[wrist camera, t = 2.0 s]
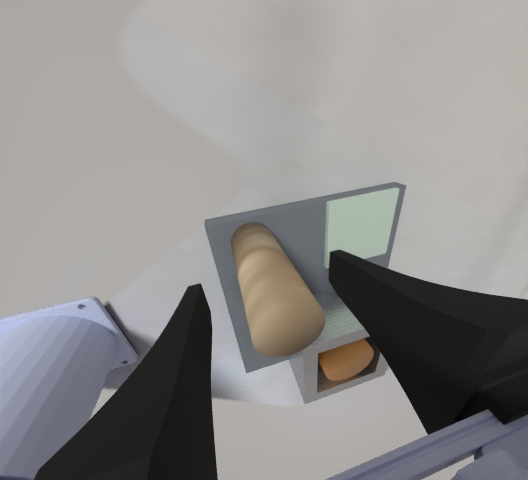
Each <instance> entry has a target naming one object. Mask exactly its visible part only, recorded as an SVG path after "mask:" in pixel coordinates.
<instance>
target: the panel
mask: <svg viewBox="0 0 528 480" xmlns="http://www.w3.org/2000/svg"><path fill="white" fill-rule="evenodd" d="M395 187H396V188H399V194H398V199H397V203H396V208H395V213H394V218H393V223H392V227H391V232H390V237H389V242H388V246H387V251H386V253H385V254H381V255H377V256H373V257H370V258H366V259H365V260H367V261H370V262H372V263H374V264H377V265H379V266H382V267H385V268H387V269H388V265H389V260H390V256H391V251H392V247H393V242H394V238H395V233H396V229H397V224H398V220H399V215H400V211H401V206H402V202H403V197H404V193H405V188H406V185H403V184H399V183H395V182H393V183H388V184H383V185H378V186H373V187H368V188H363V189H358V190H353V191H348V192H343V193H338V194H333V195H328V196H323V197H318V198H313V199H308V200H303V201H298V202H293V203H288V204H282V205H277V206H272V207H267V208H262V209H257V210H252V211H247V212H242V213H237V214H232V215H227V216H222V217H217V218H212V219H207V220H205V229H206V232H207V236H208V239H209V243H210V246H211V250H212V253H213V257H214V261H215V264H216V268H217V271H218V275H219V278H220V282H221V285H222V289H223V292H224V296H225V299H226V303H227V306H228V310H229V314H230V317H231V321H232V324H233V328H234V331H235V335H236V338H237V342H238V345H239V349H240V352H241V356H242V360H243V363H244V367H245V370H246V373H249V372H252V371H255V370H258V369H261V368H264V367H267V366H270V365H273V364H276V363H279V362H282V361H285V360H288V357H287V356H284V357H269V356H265V355H262V354H260V353H259V352H258V351H257V350H256V349H255V348H254V346H253V344H252V339H251V335H250V330H249V326H248V321H247V317H246V312H245V308H244V303H243V299H242V294H241V290H240V285H239V281H238V276H237V272H236V267H235V263H234V258H233V254H232V249H231V238H232V235H233V234H234V232H235V231H236V230H237V229H238V228H239V227H240V226H242V225H244V224H246V223H251V222H257V223H261V224H263V225H265V226H266V227H268V228H269V230H270V231H271V233H272V234H273V236H274V237H275V239H276V240H277V242H278V243H279V245H280V246H281V248H282V249H283V251H284V252H285V254H286V255H287V257H288V258H289V260H290V261H291V263H292V264H293V266H294V267H295V269H296V270H297V272H298V273H299V275H300V276H301V278H302V279H303V281H304V282H305V284H306V285H307V287H308V288H309V290H310V291H311V293H314V292H317V291H321V290H325V289H328V288H332V285H331V284H330V282H329V280H328V278H329V268H328V269H326V268H325V267H324V258H325V229H326V202H327V201H332V200H337V199H342V198H346V197H351V196H356V195H361V194H366V193H371V192H376V191H381V190H386V189H390V188H395Z"/></svg>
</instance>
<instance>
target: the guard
mask: <svg viewBox="0 0 528 480" xmlns="http://www.w3.org/2000/svg"><path fill="white" fill-rule="evenodd" d="M312 294H313V296H314V298H315V299H316V301H317V302H318V304H319V305H320V307H321V308H322V310H323V311H324V313H325V317H326V322H325V326H324V329H323V331H322V333H321V334H320V336H319V337H318V338H317V339H316V340H315V341H314V342H313V343H312V344H311V345H309V346H308V347H307V348H305V349H303V350H301V351H299V352H297V353H295V354H292V355H288V356H287V357H288V359H289V362H290V365H291V368H292V370H293V373H294V376H295V379H296V381H297V384H298V387H299V389H300V392H301V395H302V398H303V400H304V403H305V404H307V403H310V402H312V401H315V400H318V399H320V398H323V397H325V396H328V395H331V394H334V393H337V392H339V391H342V390H344V389H347V388H350V387H353V386H355V385H358V384H361V383H363V382H366V381H369V380H371V379H374V378H377V377H379V376H382V375H384V374H385V371H386V367H387V364H388V363H387V362H386V360H385V358H384V357H383V355H382V354H381V352H380V350H379V349H378V347H377V346H376V344H375V343H374V341H373V340H372V338H371V337H370V335H369V334H368V333H367V331H366V330H365V329H364V327H363V326H362V325H361V324H360V322H359V321H358V320H357V319H356V317H355V316H354V315H353V314H352V312H351V311H350V310H349V309H348V308H347V306H346V305H345V304H344V303H343V301H342V300H341V299H340V297H339V296H338V295H337V293H336V292H335V290H334V289H333V287H332V288H328V289H325V290H321V291H317V292H314V293H312ZM363 338H365V340H366V341H367V342H368V344H369V345H370V346H371V347H372V349H373V351H374V355H373V358H372V360H371V362H370V363H369V364H368V365H367V366H366V367H365V368H364V369H363V370H362V371H360V372H359V373H357V374H356V375H354V376H352V377H349V378H347V379H343V380H337V381H334V380H330V379H328V378H327V377H326V375H325V373H324V371H323V369H322V367H321V365H320V363H319V361H318V353H321V352H324V351H327V350H330V349H333V348H336V347H339V346H342V345H345V344H348V343H351V342H354V341H357V340H360V339H363Z"/></svg>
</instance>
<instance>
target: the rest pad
mask: <svg viewBox="0 0 528 480" xmlns="http://www.w3.org/2000/svg"><path fill="white" fill-rule="evenodd" d="M398 194H399V188H396V187H395V188H390V189H386V190H381V191H376V192H371V193H366V194H361V195H356V196H351V197H346V198H342V199H337V200H332V201H327V202H326V229H325V258H324V267H325V268H326V269H328V268H329V258H330V252H331V251H335V250H339V249H340V250H343V251H346V252H348V253H350V254H353V255H355V256H358V257H360V258H362V259H366V258H370V257H373V256H377V255H381V254H385V253H386V251H387V246H388V242H389V237H390V232H391V227H392V223H393V218H394V213H395V208H396V203H397V199H398Z"/></svg>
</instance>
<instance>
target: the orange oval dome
mask: <svg viewBox="0 0 528 480" xmlns="http://www.w3.org/2000/svg"><path fill="white" fill-rule="evenodd" d="M373 355H374V351H373V349H372V347H371V346H370V345H369V344H368V342H367V341H366V340H365V338H363V339H360V340H357V341H354V342H351V343H348V344H345V345H342V346H339V347H336V348H333V349H330V350H327V351H324V352H321V353H318V361H319V363H320V365H321V367H322V369H323V371H324V373H325V375H326V377H327V378H328V379H330V380H334V381H337V380H343V379H347V378H349V377H352V376H354V375H356V374H357V373H359V372H360V371H362V370H363V369H364V368H365V367H366V366H367V365H368V364H369V363H370V362H371V360H372V358H373Z"/></svg>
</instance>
